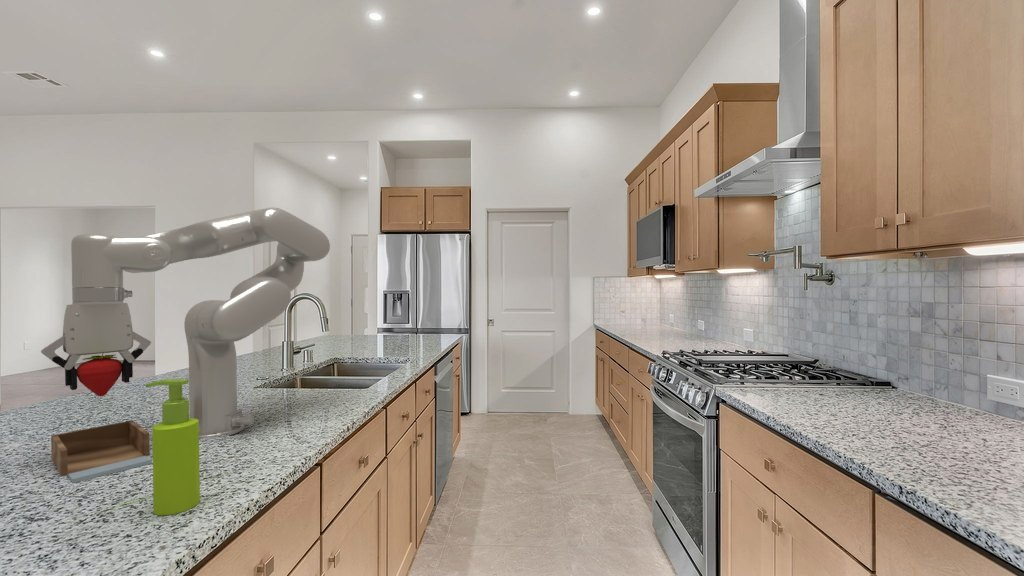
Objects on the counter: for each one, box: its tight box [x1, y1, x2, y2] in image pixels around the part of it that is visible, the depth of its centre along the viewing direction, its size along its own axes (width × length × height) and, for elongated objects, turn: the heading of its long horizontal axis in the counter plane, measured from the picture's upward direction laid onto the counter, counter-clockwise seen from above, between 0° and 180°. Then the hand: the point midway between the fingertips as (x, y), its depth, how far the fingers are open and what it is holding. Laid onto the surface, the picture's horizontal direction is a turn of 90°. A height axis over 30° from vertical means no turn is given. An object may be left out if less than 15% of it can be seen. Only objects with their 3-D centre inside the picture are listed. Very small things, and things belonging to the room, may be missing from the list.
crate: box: [50, 420, 151, 477], centre depth 90 cm, size 14×13×6 cm
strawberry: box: [76, 353, 123, 397], centre depth 90 cm, size 6×8×10 cm
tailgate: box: [67, 455, 153, 484], centre depth 84 cm, size 1×11×5 cm
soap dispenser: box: [144, 378, 201, 516], centre depth 71 cm, size 6×7×20 cm
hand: (100, 384), depth 90 cm, fingers closed on strawberry, 7 cm apart
